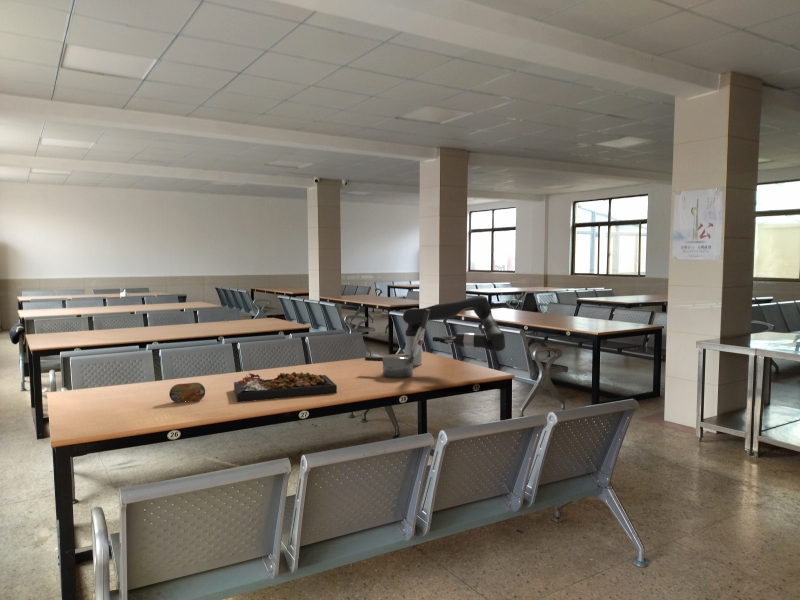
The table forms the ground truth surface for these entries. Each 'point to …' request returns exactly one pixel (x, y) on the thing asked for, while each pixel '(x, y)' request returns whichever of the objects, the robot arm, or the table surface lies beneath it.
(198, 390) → the tin
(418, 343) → the cooker lid
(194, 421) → the table surface
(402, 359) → the cooker pot
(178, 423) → the table surface
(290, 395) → the food platter
